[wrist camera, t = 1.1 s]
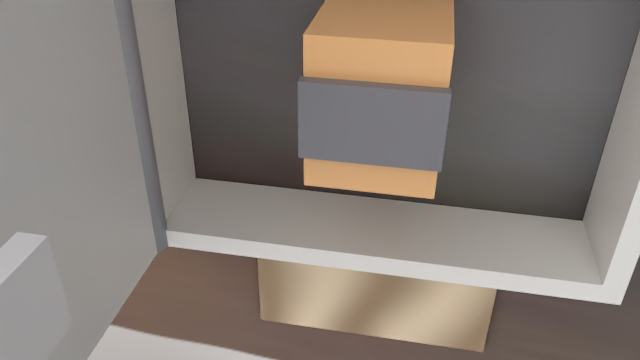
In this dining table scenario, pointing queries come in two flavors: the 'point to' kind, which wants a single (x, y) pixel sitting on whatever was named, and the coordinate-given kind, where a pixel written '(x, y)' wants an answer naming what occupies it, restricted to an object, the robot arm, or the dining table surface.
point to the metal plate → (375, 304)
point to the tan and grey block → (376, 95)
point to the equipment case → (240, 198)
